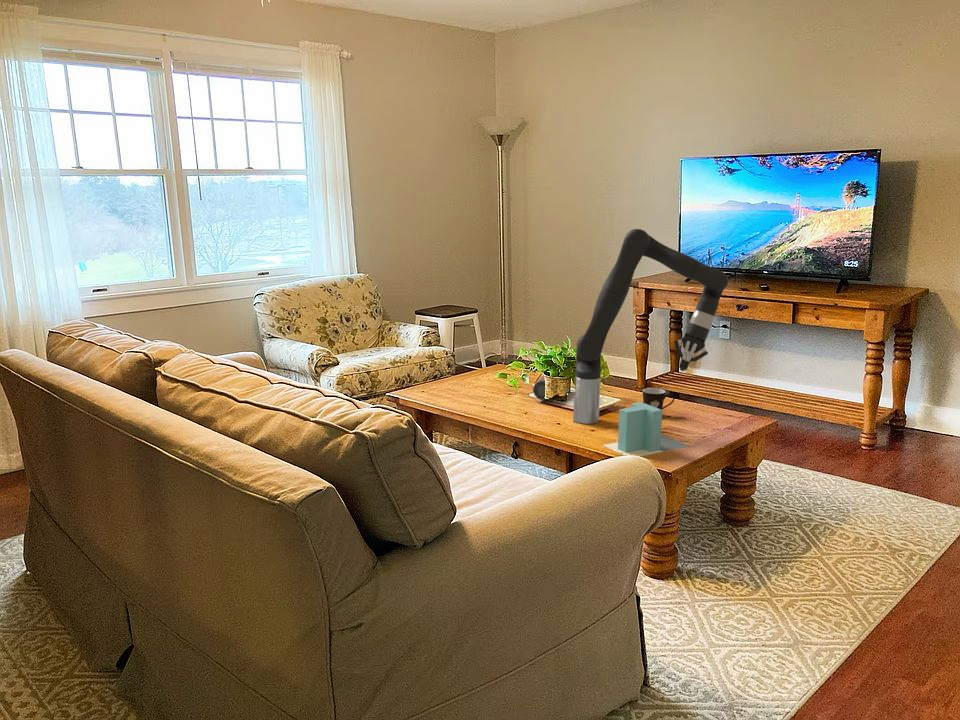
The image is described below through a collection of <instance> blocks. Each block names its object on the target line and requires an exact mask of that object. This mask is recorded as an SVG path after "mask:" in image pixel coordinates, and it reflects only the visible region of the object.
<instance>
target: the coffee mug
mask: <svg viewBox="0 0 960 720" xmlns="http://www.w3.org/2000/svg"><path fill="white" fill-rule="evenodd" d="M668 396H670V397H672V400H671V401H670V402H669V403H668V404H666V405H664V402H665V399H666V397H668ZM674 402H675V396H674V395H673V394H671V393H668V394H666V390H665V389H662V388H657V387H648V388H647V387H646V388H644V389H642V403H645V404H647V405H650V406H653V407H655V408H658V409H661V410H662V411H663V410H664V409H666V408H667V407H669V406H671V405H672V404H673V403H674Z"/></svg>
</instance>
